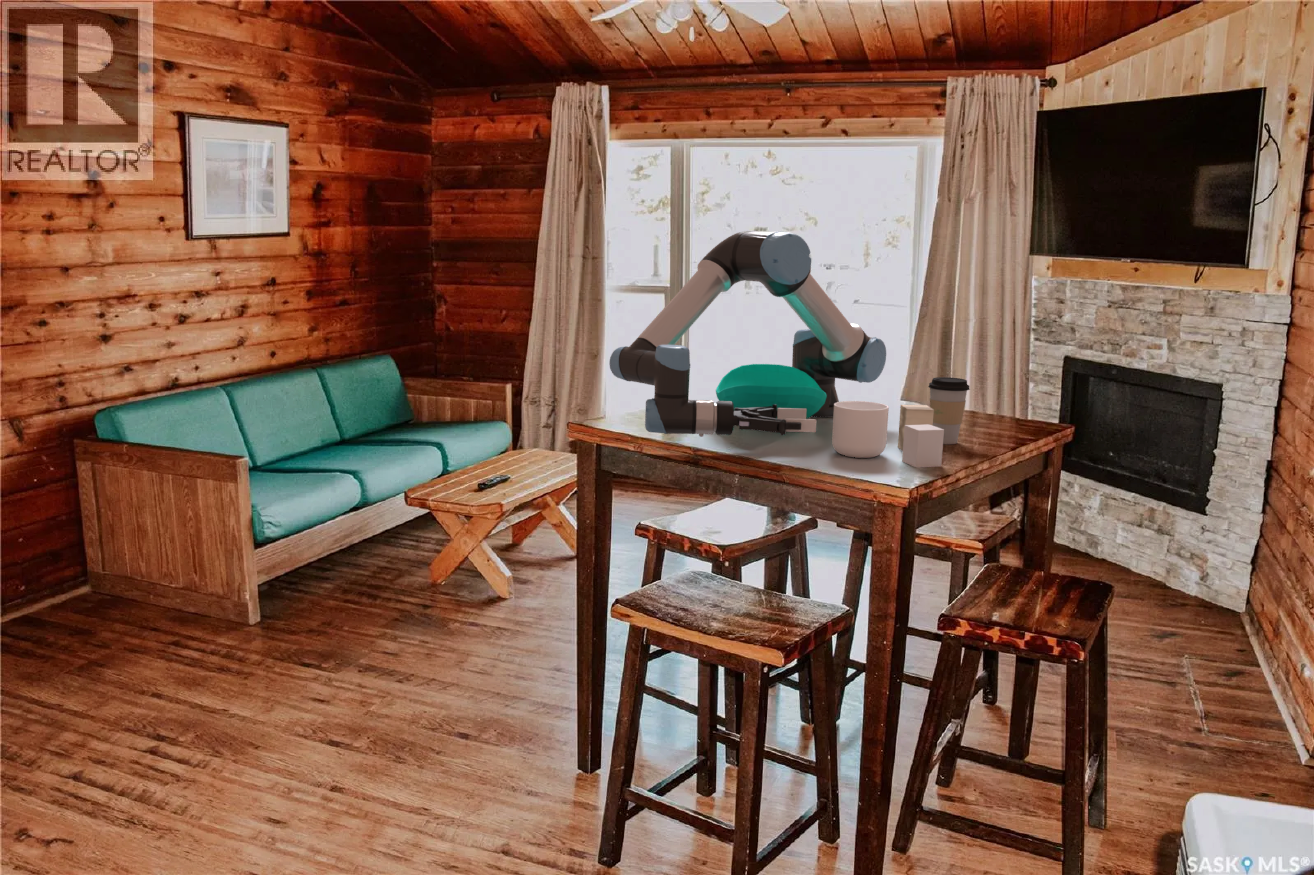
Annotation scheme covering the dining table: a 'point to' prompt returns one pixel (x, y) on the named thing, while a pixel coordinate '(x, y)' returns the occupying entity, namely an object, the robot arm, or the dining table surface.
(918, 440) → the pale pink block
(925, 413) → the birch block
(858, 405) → the handleless ceramic cup
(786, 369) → the table top decor
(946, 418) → the coffee cup
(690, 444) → the dining table surface
